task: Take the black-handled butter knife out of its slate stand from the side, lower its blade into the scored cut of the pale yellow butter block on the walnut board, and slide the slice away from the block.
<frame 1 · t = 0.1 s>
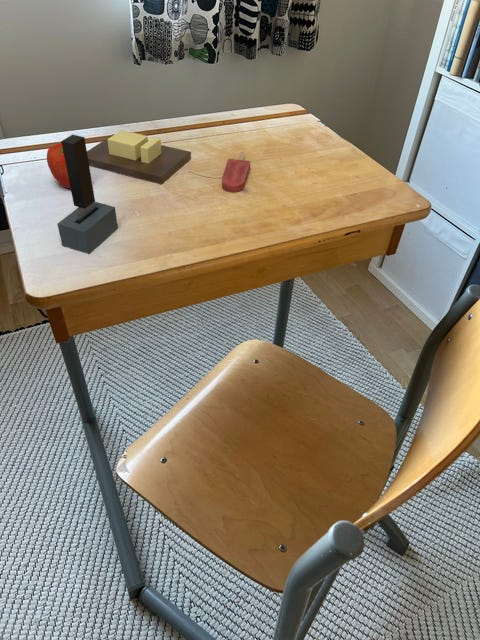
knife stand: (90, 236, 81), on the table
knife: (82, 191, 76), in the knife stand
popsicle: (237, 174, 99), on the table
butter block: (129, 152, 101), point 1 cm above the table, touching butter board
apple: (71, 186, 93), on the table
butter board: (136, 161, 101), on the table
butter slice: (151, 157, 99), point 1 cm above the table, touching butter board
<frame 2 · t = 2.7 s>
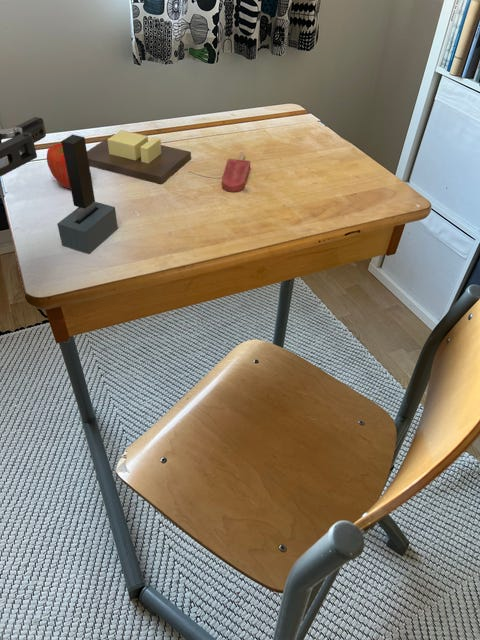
hand: (11, 119, 59), 22 cm above the table, tool horizontal, fingers open, 8 cm apart
nothing on the table moved.
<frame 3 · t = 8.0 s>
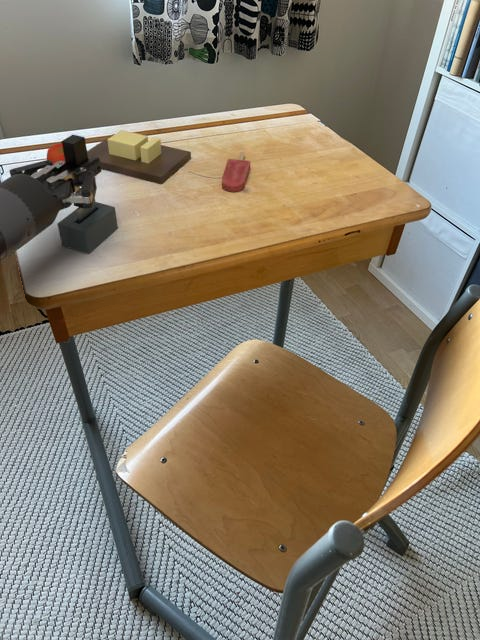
hand: (90, 161, 76), 12 cm above the table, tool horizontal, fingers closed on knife, 2 cm apart
knife: (82, 191, 76), in the knife stand, touching gripper
everything else where it was.
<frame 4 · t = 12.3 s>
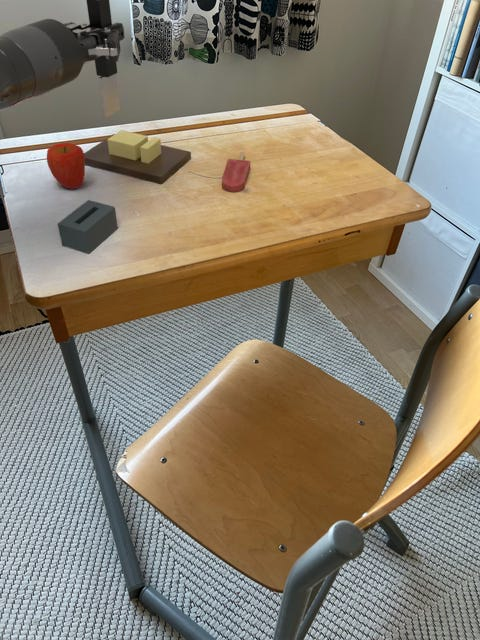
hand: (113, 29, 76), 26 cm above the table, tool horizontal, fingers closed on knife
knife: (105, 59, 76), point 22 cm above the table, touching gripper
everything else where it was.
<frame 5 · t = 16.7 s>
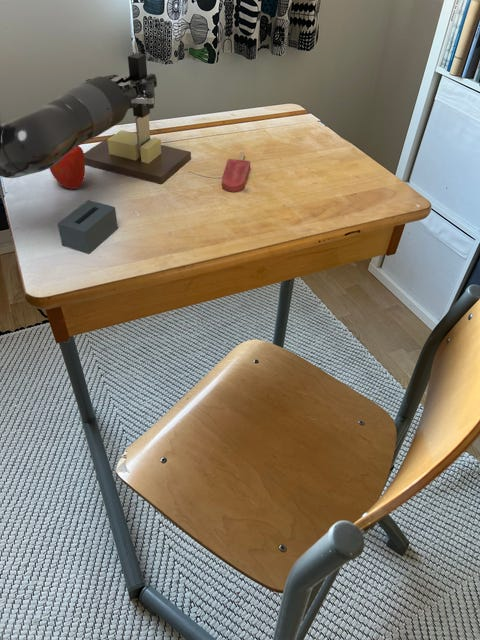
hand: (147, 78, 92), 15 cm above the table, tool horizontal, fingers closed on knife, 2 cm apart
knife: (140, 103, 93), point 12 cm above the table, touching gripper
everything else where it was.
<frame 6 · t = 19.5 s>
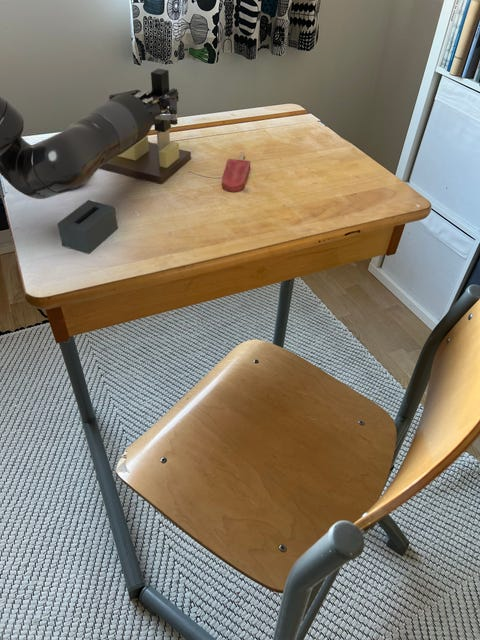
hand: (169, 93, 93), 13 cm above the table, tool horizontal, fingers closed on knife, 2 cm apart
knife: (162, 118, 93), point 10 cm above the table, touching butter slice, gripper
butter slice: (169, 162, 98), point 2 cm above the table, touching butter board, knife
everything else where it was.
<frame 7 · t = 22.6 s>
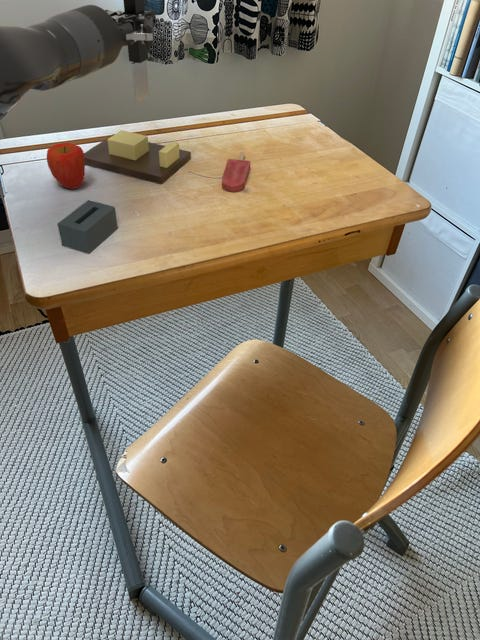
hand: (145, 17, 80), 26 cm above the table, tool horizontal, fingers closed on knife
knife: (137, 46, 80), point 23 cm above the table, touching gripper
butter slice: (169, 162, 98), point 1 cm above the table, touching butter board
everything else where it was.
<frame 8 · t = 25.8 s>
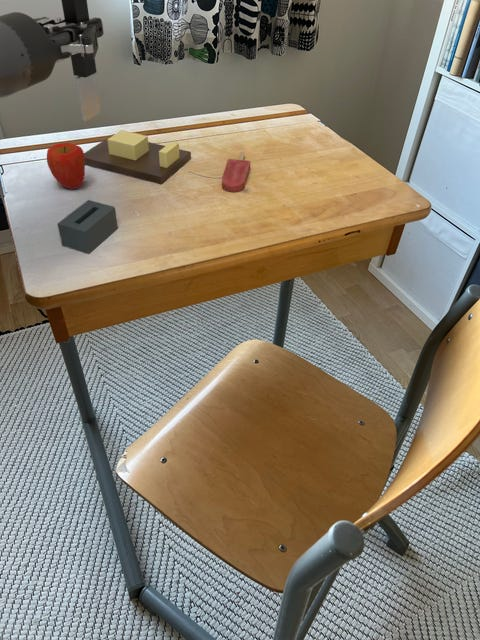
hand: (91, 24, 70), 28 cm above the table, tool horizontal, fingers closed on knife
knife: (83, 58, 70), point 24 cm above the table, touching gripper
everything else where it was.
at the end: butter slice moved 4.0 cm from its start; butter block moved 0.0 cm from its start; the gripper is holding knife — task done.
